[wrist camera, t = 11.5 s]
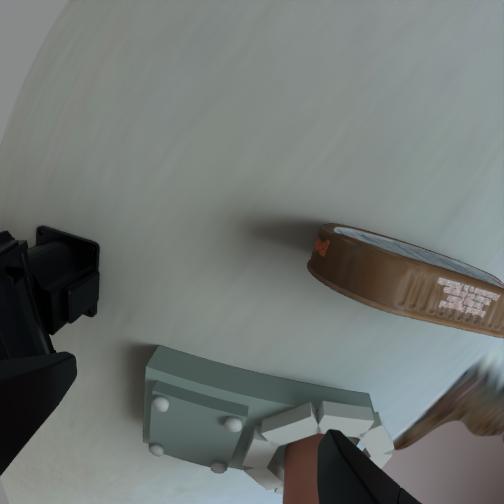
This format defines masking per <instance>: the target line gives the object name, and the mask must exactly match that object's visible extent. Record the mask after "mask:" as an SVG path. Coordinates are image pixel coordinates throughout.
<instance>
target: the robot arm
mask: <svg viewBox="0 0 504 504" xmlns="http://www.w3.org/2000/svg"><path fill="white" fill-rule="evenodd" d="M41 230H42V232H43V234H42V232H41ZM92 247H94V251H93V250H92ZM99 252H100V247H99V245H98V244H97V243H96V242H94V241H91V240H87V239H84V238H81V237H78V236H75V235H71V234H68V233H65V232H62V231H59V230H56V229H53V228H49V227H46V226H40V227H38V228H37V232H36V246H34V247H31V248H29V249H28V245H27V240H22V241H18V240H15V239H14V238H13V237H12V236H11V235H10V233H9V232H8V231H1V232H0V475H2V474H3V472H4V471H5V470H6V468H7V467H8V466H9V465H10V463H11V462H12V461H13V460H14V458H15V457H16V456H17V455H18V453H19V452H20V451H21V450H22V448H23V447H24V446H25V445H26V443H27V442H28V441H29V440H30V438H31V437H32V436H33V435H34V434H35V432H36V431H37V430H38V429H39V428H40V426H41V425H42V424H43V423H44V422H45V420H46V419H47V418H48V417H49V416H50V414H51V413H52V412H53V411H54V410H55V408H56V407H57V406H58V405H59V403H60V402H61V400H62V399H63V397H64V396H65V394H66V393H67V391H68V389H69V388H70V386H71V385H72V383H73V382H74V380H75V379H76V376H77V366H76V358H75V356H74V355H73V354H71V353H68V352H58V353H56V350H54V348H53V345H52V342H51V339H50V336H49V334H50V335H54V334H55V333H56V332H57V331H58V330H59V329H61V328H62V327H63V326H64V325H65V324H66V323H69V324H71V323H73V322H74V321H75V320H77V319H78V318H79V317H80V316H81V315H82V314H84V315H86V316H88V317H94V316H95V315H96V314H97V301H98V299H99V275H100V273H99V271H98V267H99ZM90 310H91V311H92V312H91V311H90ZM317 489H318V498H319V504H422V503H420V502H419V501H417V500H416V499H415V498H414V497H412V496H411V495H410V494H409V493H408V492H407V491H405V490H404V489H403V488H400V486H399V485H398V484H397V483H396V482H395V481H393V479H391V478H390V477H389V476H388V475H387V474H386V473H385V472H383V470H381V469H380V468H379V467H378V466H377V465H376V464H375V463H374V462H373V461H372V460H371V459H370V458H368V457H367V456H366V455H365V454H364V453H363V452H362V451H361V450H360V449H359V448H358V447H357V446H356V445H355V444H354V443H352V442H351V441H350V440H349V439H348V438H347V437H346V436H345V435H344V434H343V433H342V432H341V431H340V430H335V429H329V430H327V432H326V433H325V435H324V436H323V438H322V439H321V441H320V443H319V445H318V453H317Z"/></svg>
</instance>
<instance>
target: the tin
mask: <svg viewBox="0 0 504 504" xmlns="http://www.w3.org/2000/svg"><path fill="white" fill-rule="evenodd" d="M307 268H308V270H309V272H310V273H311V274H312V275H313V276H314V277H315V278H317V279H318V280H319V281H320V282H322V283H323V284H325V285H326V286H328V287H330V288H331V289H332V290H335V291H336V292H338V293H340V294H343V295H344V296H347V297H349V298H351V299H353V300H356V301H358V302H360V303H363V304H365V305H368V306H371V307H373V308H377V309H379V310H382V311H386V312H388V313H393V314H396V315H400V316H404V317H409V318H413V319H417V320H422V321H426V322H430V323H435V324H439V325H444V326H448V327H453V328H457V329H462V330H466V331H471V332H475V333H479V334H485V335H489V336H493V337H498V338H504V283H502V282H501V281H500V280H499V279H498V278H497V277H495V276H493V275H491V274H489V273H487V272H485V271H482V270H480V269H478V268H475V267H473V266H471V265H468V264H466V263H463V262H460V261H458V260H455V259H452V258H449V257H447V256H444V255H441V254H438V253H435V252H433V251H430V250H427V249H424V248H421V247H418V246H415V245H412V244H409V243H406V242H403V241H400V240H397V239H393V238H390V237H387V236H383V235H380V234H376V233H373V232H369V231H366V230H362V229H358V228H354V227H350V226H346V225H341V224H333V223H331V224H326V225H324V226H323V227H322V228H321V229H320V231H319V233H318V236H317V240H316V243H315V247H314V250H313V253H312V257H311V259H310V260H309V261H308V263H307Z"/></svg>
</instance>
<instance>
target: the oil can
mask: <svg viewBox="0 0 504 504" xmlns="http://www.w3.org/2000/svg"><path fill="white" fill-rule="evenodd" d="M324 435H325V434H322V433H317V434H314V435H311V436H308V437H306V438H303V439H300V440H297V441H294V442H290V443H289V444H288V445H287V446H286V448H285V457H284V485H283V504H319V498H318V489H317V453H318V445H319V443H320V441H321V439H322V438H323V436H324Z"/></svg>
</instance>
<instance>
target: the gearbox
mask: <svg viewBox="0 0 504 504" xmlns="http://www.w3.org/2000/svg"><path fill="white" fill-rule="evenodd" d="M329 429H335V430H340V431H341V432H342V433H343V434H344V435H345V436H346V437H347V438H348V439H349V440H350V441H351V442H352V443H354V444H355V445H357V444H358V442H359V441H360V440H361V442H362V443H363V445H364V446H365V449H364V450H363V451H362V452H363V453H364V454H365V455H366V456H367V457H368V458H370V459H371V460H372V461H373V462H374V463H375V464H376V465H377V466H378V467H379V468H380V469H381V468H382V467H383V466H384V464H385V463H386V462H387V461H388V460H389V459H390V458H391V456H392V455H393V453H392V450H393V449H394V445H393V442H392V439H391V436H390V434H389V432H388V430H387V428H386V426H385V424H384V422H383V420H382V418H381V416H380V414H379V413H378V412H376V413H375V412H374V409H373V405H372V402H371V399H370V395H369V394H368V393H361V392H354V391H348V390H341V389H335V388H329V387H324V386H318V385H313V384H307V383H302V382H297V381H292V380H288V379H283V378H278V377H274V376H269V375H265V374H261V373H256V372H252V371H248V370H244V369H240V368H236V367H232V366H229V365H225V364H221V363H217V362H214V361H210V360H207V359H203V358H200V357H196V356H193V355H189V354H186V353H183V352H180V351H176V350H173V349H170V348H167V347H164V346H161V345H159V346H158V348H157V349H156V351H155V352H154V354H153V356H152V357H151V359H150V361H149V362H148V364H147V365H146V373H145V389H144V411H143V442H144V443H147V444H149V451H150V452H151V453H152V454H153V455H156V456H162V455H163V454H166V455H169V456H172V457H175V458H178V459H182V460H185V461H189V462H192V463H196V464H199V465H203V466H207V467H211V471H213V472H215V473H224V472H225V471H226V470H227V468H228V467H231V468H236V469H240V470H244V471H245V472H246V473H247V474H248V475H249V476H250V477H252V478H253V479H254V480H255V481H256V482H258V483H259V484H260V485H261V486H262V487H264V488H265V489H266V490H270V489H274V488H275V493H279V494H283V485H284V457H285V448H286V446H287V445H288V444H289V443H290V442H294V441H297V440H300V439H303V438H306V437H308V436H311V435H314V434H317V433H322V434H325V433H326V432H327V430H329Z"/></svg>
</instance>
